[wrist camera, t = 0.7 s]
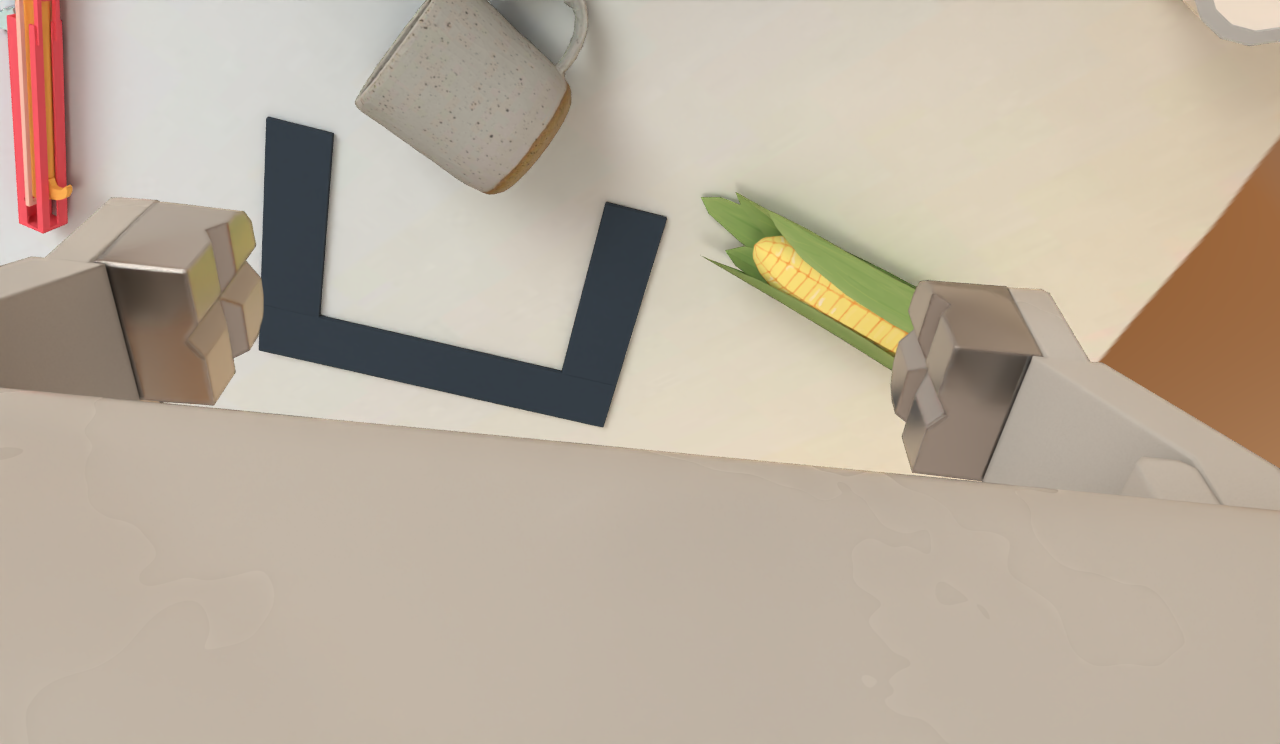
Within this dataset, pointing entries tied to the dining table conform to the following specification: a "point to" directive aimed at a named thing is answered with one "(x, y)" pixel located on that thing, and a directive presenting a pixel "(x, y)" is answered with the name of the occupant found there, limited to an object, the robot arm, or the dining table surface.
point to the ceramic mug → (472, 91)
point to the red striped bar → (38, 111)
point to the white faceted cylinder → (1240, 19)
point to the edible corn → (816, 278)
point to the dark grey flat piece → (304, 334)
